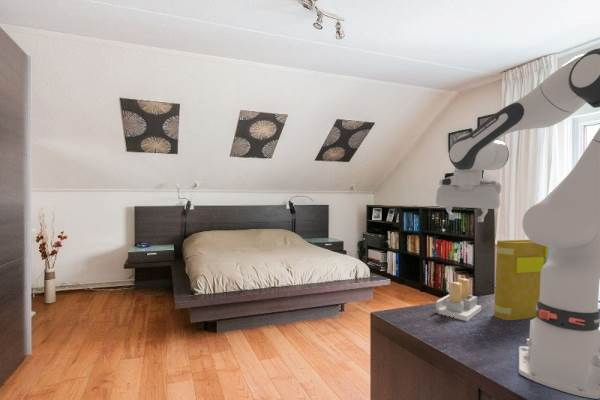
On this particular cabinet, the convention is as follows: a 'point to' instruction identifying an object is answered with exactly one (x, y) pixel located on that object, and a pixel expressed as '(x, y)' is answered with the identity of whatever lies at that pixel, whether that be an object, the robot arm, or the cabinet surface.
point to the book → (518, 278)
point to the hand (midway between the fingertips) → (465, 220)
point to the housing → (457, 304)
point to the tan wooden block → (464, 288)
